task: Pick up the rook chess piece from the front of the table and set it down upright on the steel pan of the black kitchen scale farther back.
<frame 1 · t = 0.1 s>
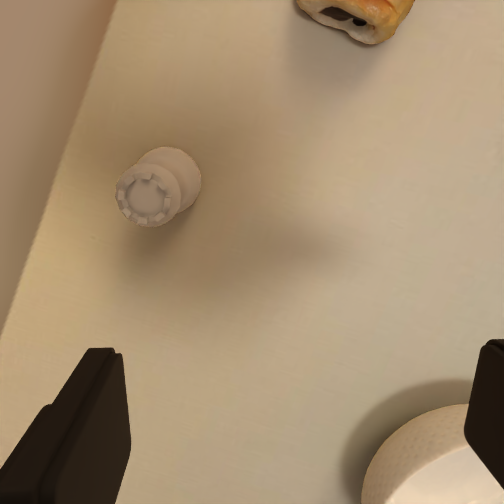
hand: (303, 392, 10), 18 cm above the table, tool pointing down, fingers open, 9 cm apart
rook chess piece: (169, 179, 26), on the table
cereal bowl: (434, 450, 35), on the table
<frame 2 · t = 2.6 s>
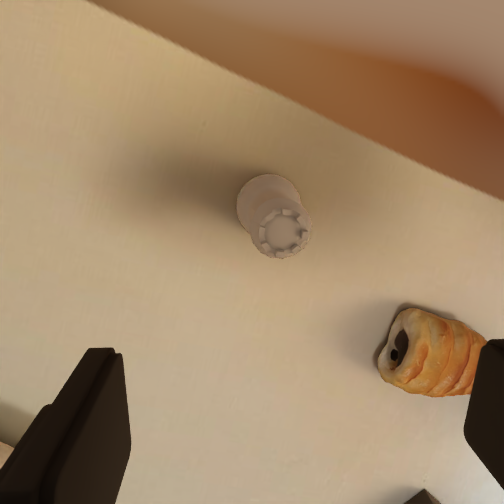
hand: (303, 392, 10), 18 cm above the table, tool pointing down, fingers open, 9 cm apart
rook chess piece: (267, 204, 27), on the table
pastry: (426, 344, 31), on the table
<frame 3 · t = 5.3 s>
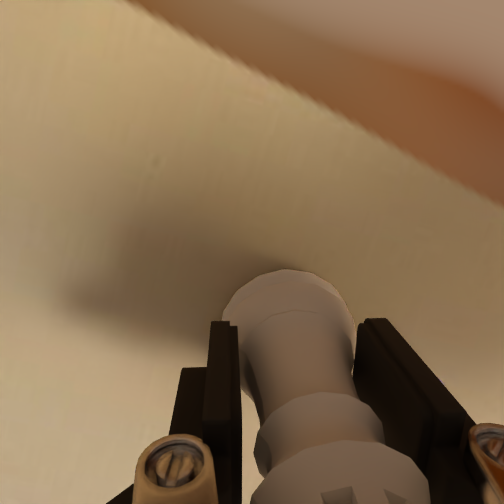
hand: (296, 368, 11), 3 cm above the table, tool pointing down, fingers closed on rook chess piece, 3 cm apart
rook chess piece: (282, 321, 14), on the table, touching gripper
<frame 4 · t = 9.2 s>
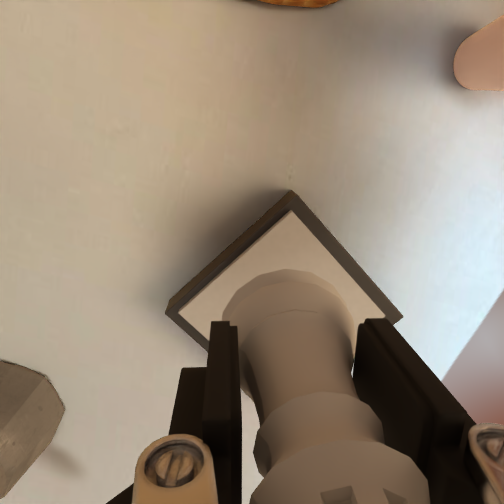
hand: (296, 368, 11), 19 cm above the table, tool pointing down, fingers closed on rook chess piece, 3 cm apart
rook chess piece: (282, 321, 14), point 16 cm above the table, touching gripper
scale: (282, 302, 31), on the table
coffeepot: (21, 413, 33), on the table
smoothie: (477, 62, 27), on the table
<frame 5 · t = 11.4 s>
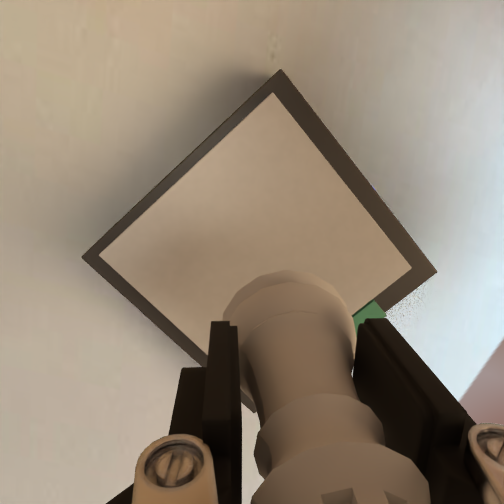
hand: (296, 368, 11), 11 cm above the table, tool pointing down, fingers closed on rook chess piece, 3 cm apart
rook chess piece: (282, 322, 14), point 9 cm above the table, touching gripper
scale: (261, 251, 22), on the table
when the fingers open (6 cm above the table, at t = 13.1 s): rook chess piece stays where it is, resting on scale.
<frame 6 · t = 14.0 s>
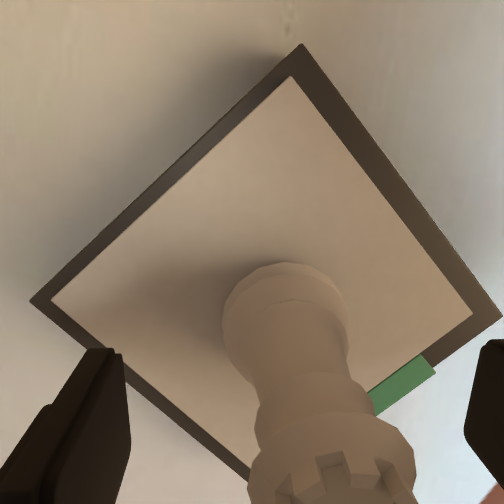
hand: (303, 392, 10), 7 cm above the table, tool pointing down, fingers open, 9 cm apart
rook chess piece: (281, 312, 14), point 3 cm above the table, touching scale
scale: (270, 285, 17), on the table
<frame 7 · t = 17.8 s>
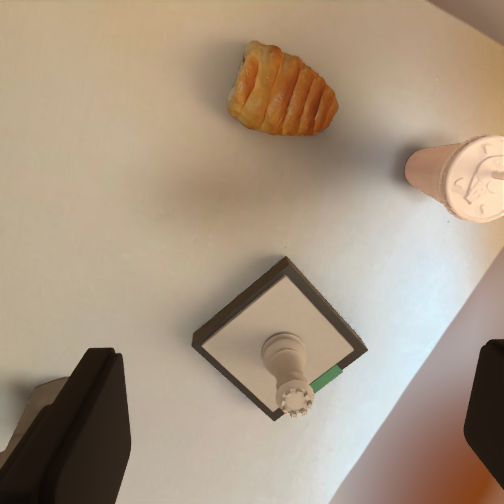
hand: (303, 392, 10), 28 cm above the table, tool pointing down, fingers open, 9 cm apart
rook chess piece: (282, 349, 39), point 3 cm above the table, touching scale
scale: (278, 336, 41), on the table
coffeepot: (77, 416, 43), on the table
pastry: (275, 94, 34), on the table
smoothie: (422, 168, 37), on the table
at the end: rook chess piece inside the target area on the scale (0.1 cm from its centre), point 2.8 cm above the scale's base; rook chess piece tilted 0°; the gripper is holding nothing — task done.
